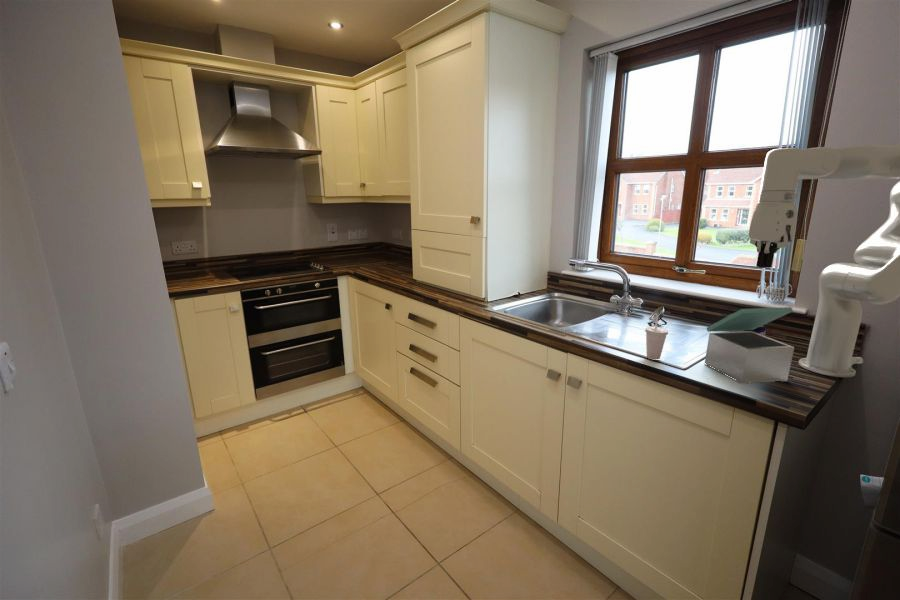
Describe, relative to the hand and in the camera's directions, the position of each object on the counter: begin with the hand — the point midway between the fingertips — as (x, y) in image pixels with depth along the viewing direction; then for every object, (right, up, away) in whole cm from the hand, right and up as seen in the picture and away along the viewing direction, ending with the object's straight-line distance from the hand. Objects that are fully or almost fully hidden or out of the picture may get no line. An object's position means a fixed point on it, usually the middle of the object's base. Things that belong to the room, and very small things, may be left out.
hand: (763, 267), depth 113 cm
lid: (0, -15, +5) cm, 16 cm away
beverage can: (+12, -27, +22) cm, 36 cm away
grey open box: (0, -30, +7) cm, 31 cm away
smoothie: (-22, -28, +17) cm, 39 cm away
